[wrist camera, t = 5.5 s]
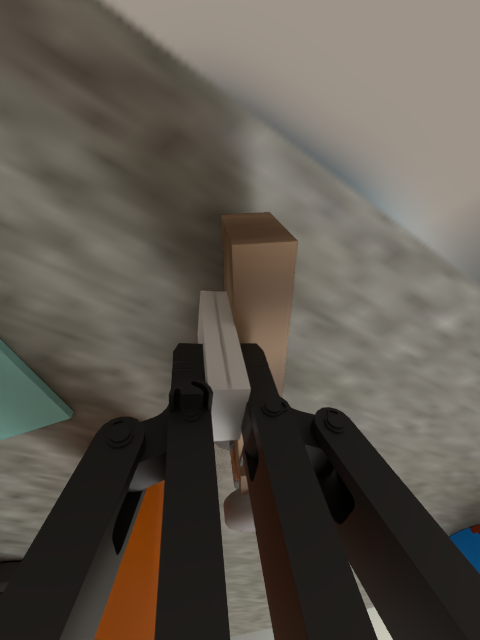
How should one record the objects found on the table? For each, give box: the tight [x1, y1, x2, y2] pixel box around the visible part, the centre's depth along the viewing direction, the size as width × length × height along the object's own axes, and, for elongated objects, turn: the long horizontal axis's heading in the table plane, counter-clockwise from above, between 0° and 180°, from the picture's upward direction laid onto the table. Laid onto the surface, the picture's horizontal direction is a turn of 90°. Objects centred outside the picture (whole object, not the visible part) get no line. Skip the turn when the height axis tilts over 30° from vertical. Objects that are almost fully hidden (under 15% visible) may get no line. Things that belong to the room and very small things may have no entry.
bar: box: [221, 212, 298, 532], centre depth 17 cm, size 21×5×6 cm, turn 1°
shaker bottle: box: [94, 480, 165, 640], centre depth 17 cm, size 9×9×20 cm
